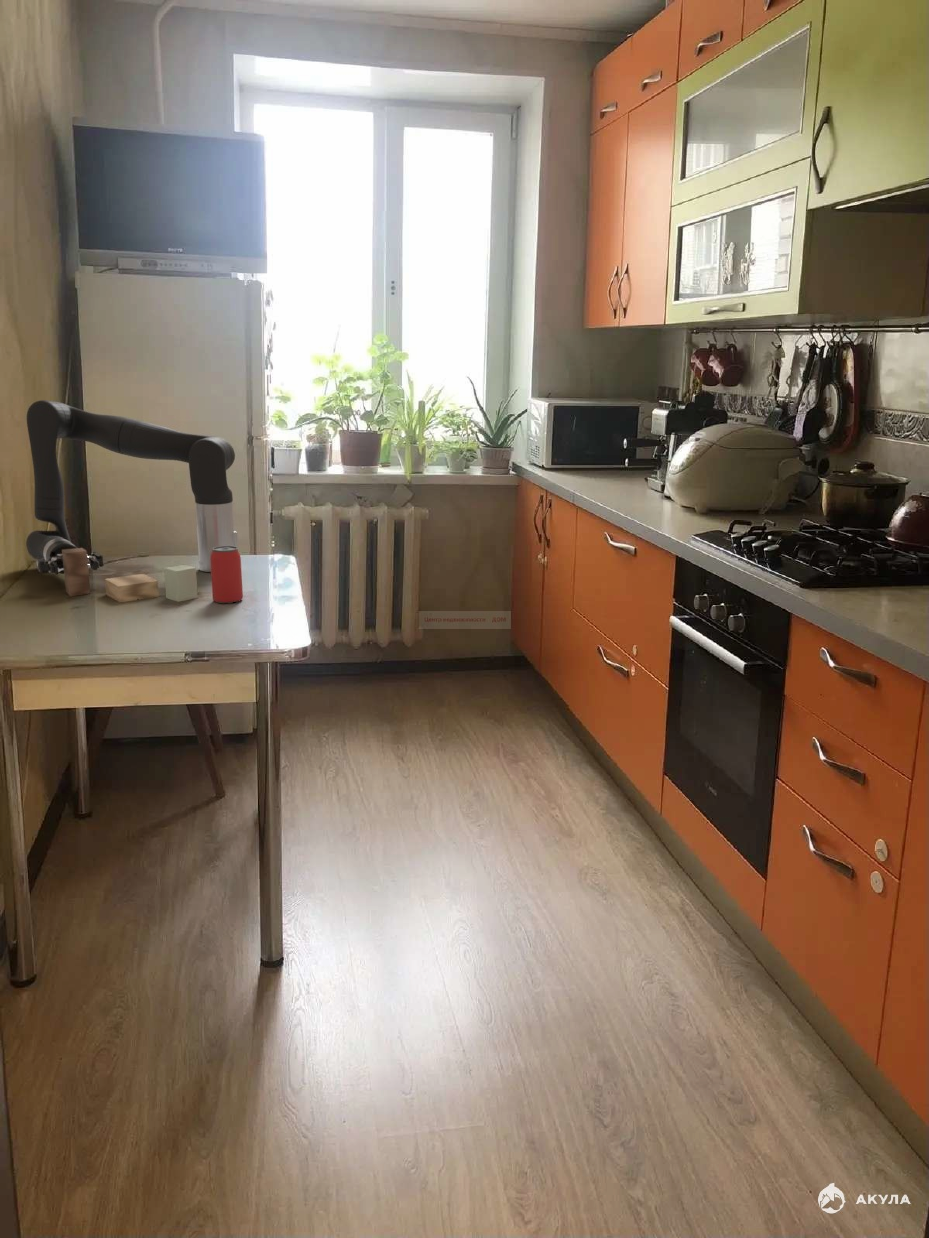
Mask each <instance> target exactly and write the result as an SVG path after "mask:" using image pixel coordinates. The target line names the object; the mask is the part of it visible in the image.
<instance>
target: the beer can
mask: <svg viewBox="0 0 929 1238" xmlns="http://www.w3.org/2000/svg"><path fill="white" fill-rule="evenodd" d="M237 549H238V550H237ZM212 550H213V551H212V554H211V557H210V562H211V572H210V577H211V591H212V600H213V602H215V603H217V602H218V604H223V603H228V604H234V603H233V602H236V603H239V602H241V601H242V600H243V598H244V593H243V579H242V578H243V575H242V574H243V573H242V557H241V554H240V551H239V547H238V548H237V547H235V546H219V547H214V548H213V549H212ZM240 600H241V601H240Z"/></svg>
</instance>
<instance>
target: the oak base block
mask: <svg viewBox="0 0 929 1238" xmlns="http://www.w3.org/2000/svg"><path fill="white" fill-rule="evenodd" d="M104 582H105V583H104V585H105V586H104V587H105V595H106V596H108V597H110V598H112V599H113V600H115V601H116V602H118V603H125V602H131V601H138V600H137V599H139V600H145V599H151V598H158V597H160V595H159V594H160V593H159V581H158V580H157V579H155V578H153V577H151V576H149V575H146V574H145V573H140V574H138V573H137V574H132V575H125V576H118V577H117V576H116V577H110V578H104Z"/></svg>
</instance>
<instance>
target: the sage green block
mask: <svg viewBox="0 0 929 1238" xmlns="http://www.w3.org/2000/svg"><path fill="white" fill-rule="evenodd" d="M163 571H164V572H163V573H164V585H165V586H164V587H165V597H166V599H169V600H172V601H175V602H178V603H179V602H182V601H183V602H184V601H188V600H192V599H193V600H195V599H198V583H197V568H196V567H194V566H191V565H187V564H179V565H174V566H167V567H164V568H163Z"/></svg>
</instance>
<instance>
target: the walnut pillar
mask: <svg viewBox="0 0 929 1238" xmlns="http://www.w3.org/2000/svg"><path fill="white" fill-rule="evenodd" d="M87 554H88V551H87V550H86V549H85V548H83V547H77V548H75V549H64V550H62V557H63V567H64V574H63V576H64V585H65V586H64V587H65V592H66V594H67V595H69V597H72V596H75V597H76V596H81V595H82V596H83V594H84V595H90V594H89V593H91V585H90V583H91V582H90V574H89V573H90V572H89V568H88V561H87Z"/></svg>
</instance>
